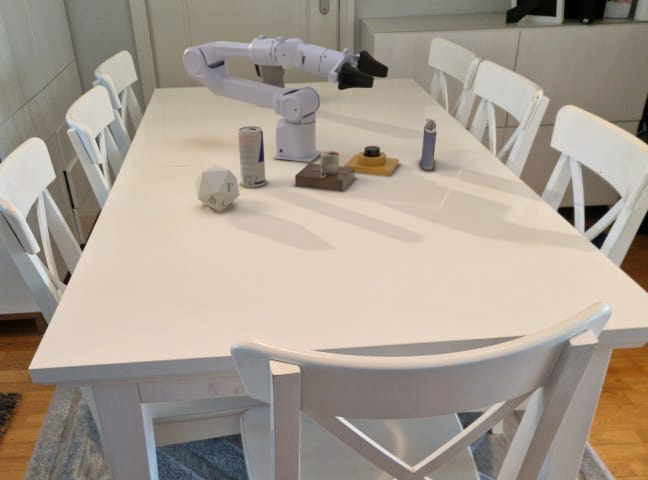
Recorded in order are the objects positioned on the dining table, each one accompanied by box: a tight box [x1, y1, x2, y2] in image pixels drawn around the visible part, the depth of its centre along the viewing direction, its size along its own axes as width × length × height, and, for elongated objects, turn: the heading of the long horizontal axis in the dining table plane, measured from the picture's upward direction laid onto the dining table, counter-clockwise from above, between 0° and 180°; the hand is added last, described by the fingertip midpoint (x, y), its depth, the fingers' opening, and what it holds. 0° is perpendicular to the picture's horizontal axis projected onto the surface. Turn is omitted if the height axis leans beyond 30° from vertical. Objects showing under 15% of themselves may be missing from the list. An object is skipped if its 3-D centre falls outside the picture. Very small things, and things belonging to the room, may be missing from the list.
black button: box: [363, 145, 381, 157], centre depth 151 cm, size 4×4×2 cm
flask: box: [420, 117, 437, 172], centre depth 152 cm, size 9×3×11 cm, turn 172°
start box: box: [343, 150, 400, 177], centre depth 153 cm, size 11×9×3 cm
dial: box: [320, 150, 340, 175], centre depth 143 cm, size 4×4×4 cm
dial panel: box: [294, 162, 356, 192], centre depth 145 cm, size 11×9×3 cm
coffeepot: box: [254, 64, 286, 88], centre depth 204 cm, size 15×9×18 cm, turn 44°
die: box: [195, 164, 240, 213], centre depth 132 cm, size 8×9×10 cm
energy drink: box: [237, 125, 266, 189], centre depth 142 cm, size 5×5×12 cm
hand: (380, 77), depth 142 cm, fingers open, 7 cm apart
